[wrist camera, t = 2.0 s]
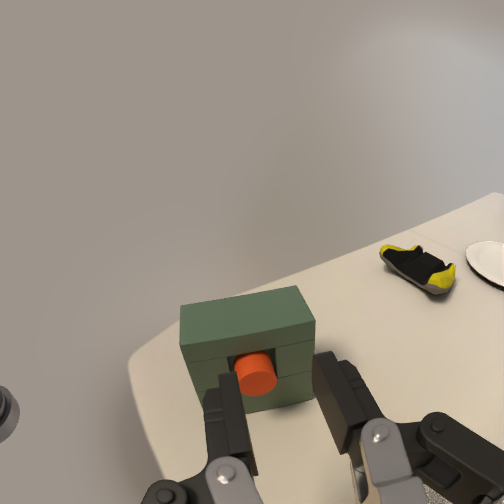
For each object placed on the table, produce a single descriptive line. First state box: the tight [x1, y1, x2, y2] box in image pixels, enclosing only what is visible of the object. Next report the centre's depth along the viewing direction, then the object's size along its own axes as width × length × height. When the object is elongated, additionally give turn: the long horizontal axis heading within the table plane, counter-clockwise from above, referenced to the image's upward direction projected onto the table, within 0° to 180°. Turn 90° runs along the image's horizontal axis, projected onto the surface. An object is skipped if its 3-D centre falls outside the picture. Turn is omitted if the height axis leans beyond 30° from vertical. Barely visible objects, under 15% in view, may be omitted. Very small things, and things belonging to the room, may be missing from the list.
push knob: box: [233, 350, 277, 396], centre depth 27 cm, size 3×4×4 cm
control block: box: [179, 285, 316, 414], centre depth 31 cm, size 6×12×12 cm, turn 100°
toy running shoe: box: [379, 245, 456, 295], centre depth 48 cm, size 15×6×10 cm
